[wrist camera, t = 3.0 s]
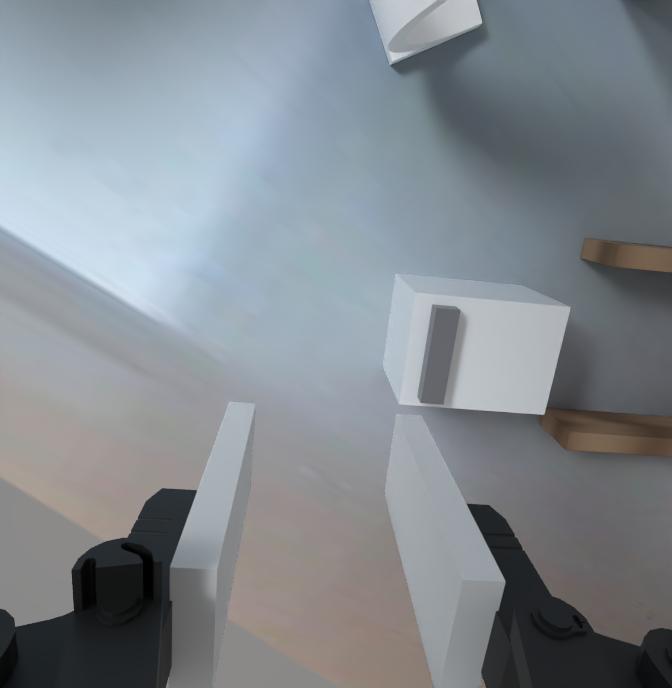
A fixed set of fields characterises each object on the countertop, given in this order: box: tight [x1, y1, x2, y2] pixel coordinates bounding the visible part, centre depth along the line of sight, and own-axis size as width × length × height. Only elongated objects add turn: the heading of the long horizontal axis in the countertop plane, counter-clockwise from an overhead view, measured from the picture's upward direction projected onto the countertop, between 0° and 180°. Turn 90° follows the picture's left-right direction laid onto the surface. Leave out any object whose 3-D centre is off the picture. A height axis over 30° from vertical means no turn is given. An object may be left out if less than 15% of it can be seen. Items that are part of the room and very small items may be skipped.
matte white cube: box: [383, 273, 571, 415], centre depth 28 cm, size 8×6×7 cm
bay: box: [540, 238, 672, 457], centre depth 31 cm, size 12×12×4 cm
